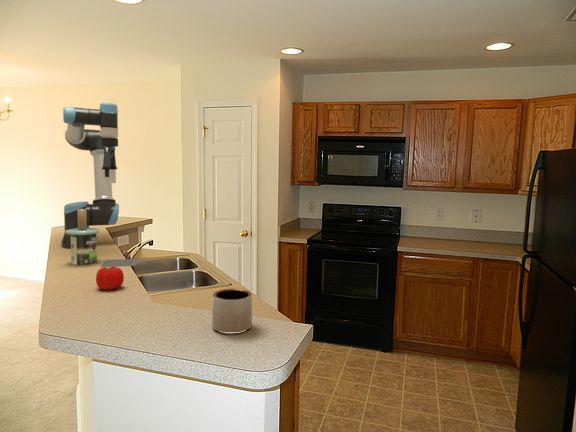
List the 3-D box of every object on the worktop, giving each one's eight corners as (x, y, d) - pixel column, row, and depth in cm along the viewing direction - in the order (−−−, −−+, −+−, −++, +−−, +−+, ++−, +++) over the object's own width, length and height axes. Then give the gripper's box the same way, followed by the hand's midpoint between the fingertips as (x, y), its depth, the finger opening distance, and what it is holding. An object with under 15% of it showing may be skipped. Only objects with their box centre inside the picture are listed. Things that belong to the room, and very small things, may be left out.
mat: (106, 260, 190) (106, 259, 190) (138, 260, 193) (138, 258, 193) (99, 268, 177) (99, 266, 177) (134, 267, 180) (134, 265, 180)
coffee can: (102, 262, 187) (101, 231, 185) (87, 268, 177) (86, 235, 175) (82, 261, 189) (81, 230, 187) (65, 266, 179) (64, 233, 177)
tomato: (128, 287, 150) (128, 267, 149) (106, 293, 143) (106, 272, 142) (111, 283, 155) (111, 263, 154) (89, 289, 147) (89, 268, 147)
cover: (70, 230, 186) (69, 207, 185) (101, 230, 189) (101, 207, 187) (61, 235, 173) (60, 210, 172) (95, 235, 176) (94, 210, 175)
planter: (204, 326, 116) (204, 293, 114) (235, 317, 123) (236, 286, 122) (227, 339, 108) (228, 303, 107) (259, 328, 115) (260, 294, 114)
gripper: (105, 138, 204) (106, 182, 206) (94, 135, 180) (95, 184, 182) (122, 139, 206) (122, 182, 208) (113, 136, 182) (114, 185, 184)
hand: (110, 183), depth 195 cm, fingers open, 13 cm apart
